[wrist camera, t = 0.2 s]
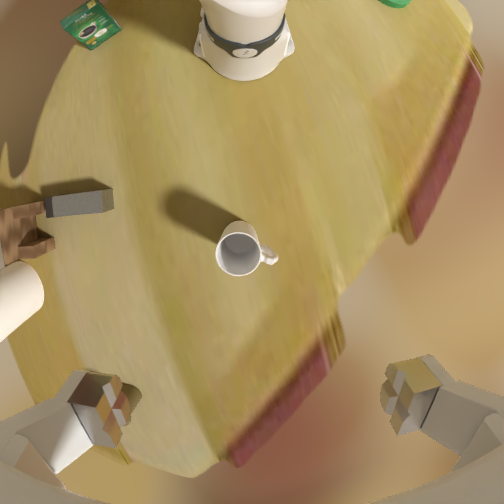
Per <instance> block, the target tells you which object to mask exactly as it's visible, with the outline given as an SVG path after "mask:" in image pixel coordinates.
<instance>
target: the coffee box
mask: <svg viewBox="0 0 504 504" xmlns="http://www.w3.org/2000/svg"><path fill="white" fill-rule="evenodd" d="M60 22H61V25H62V28H63V29H64V30H65V31H67V32H68V33H69V34H70V35H72V36H73V37H75V38H76V39H77V40H78V41H80V42H81V43H82V44H84V45H85V46H86V47H88V48H89V49H90V50H93V49H94V48H96V47H97V46H99V45H100V44H101V43H102V42H104V41H105V40H107V39H108V38H110V37H111V36H113V35H115V34H116V33H117V32H119V31H121V30H122V29H121V27H120V26H119V24H118V23H117V22H116V21H115V19H114V18H113V17H112V16H111V15H110V13H109V12H108V11H107V10H106V9H105V8H104V6H103V5H102V4H101V3H100V2H99V1H98V0H89V1H87V2H86V3H84V4H83V5H81V6H80V7H79V8H77V9H76V10H75V11H73V12H72V13H70V14H69V15H68V16H66V17H65V18H64V19H63V20H62V21H60Z"/></svg>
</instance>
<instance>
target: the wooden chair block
mask: <svg viewBox="0 0 504 504" xmlns="http://www.w3.org/2000/svg"><path fill="white" fill-rule="evenodd" d="M45 212H46V208H45V200H43V201H37V202H30V203H26V204H22V205H18V206H13V207H9V208H5V209H2V210H0V241H1V247H2V253H3V258H4V263H5V264H10V263H12V262H14V261H16V260H18V259H28V258H37V257H39V256H41V255H43V254H45V253H47V252H49V251H51V250H53V249H55V242H54V237H47V238H38V232H37V224H36V216H35V215H38V214H41V213H45Z"/></svg>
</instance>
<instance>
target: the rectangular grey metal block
mask: <svg viewBox="0 0 504 504" xmlns="http://www.w3.org/2000/svg"><path fill="white" fill-rule="evenodd" d="M45 208H46V217H47V218H51V217H60V216H70V215H80V214H91V213H103V212H106V211H109V210H112V209H114V202H113V189H104V190H95V191H87V192H79V193H72V194H65V195H58V196H53V197H48V198H45Z"/></svg>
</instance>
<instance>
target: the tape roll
mask: <svg viewBox="0 0 504 504" xmlns="http://www.w3.org/2000/svg"><path fill="white" fill-rule="evenodd" d="M379 1H380V2H381V3H383V4H385V5H387V6H390V7H393V8H403V7H405V6H406V5H407V4H408V3H409V2H410V1H411V0H379Z"/></svg>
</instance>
